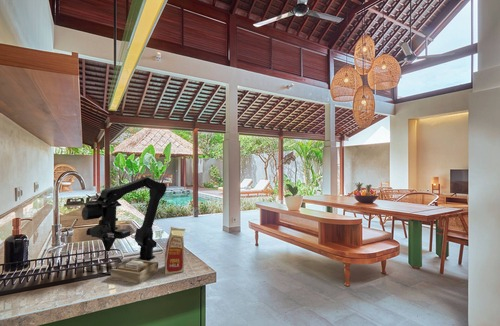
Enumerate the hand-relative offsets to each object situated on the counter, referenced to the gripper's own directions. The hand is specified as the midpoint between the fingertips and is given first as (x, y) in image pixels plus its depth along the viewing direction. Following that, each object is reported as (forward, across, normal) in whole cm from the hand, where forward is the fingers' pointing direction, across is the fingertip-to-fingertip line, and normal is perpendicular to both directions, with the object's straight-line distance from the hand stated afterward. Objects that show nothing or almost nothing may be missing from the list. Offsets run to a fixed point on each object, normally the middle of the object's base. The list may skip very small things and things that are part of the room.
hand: (107, 251), depth 118 cm
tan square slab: (+9, +13, 0) cm, 16 cm away
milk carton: (+9, +28, +11) cm, 31 cm away
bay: (+9, +14, 0) cm, 16 cm away
